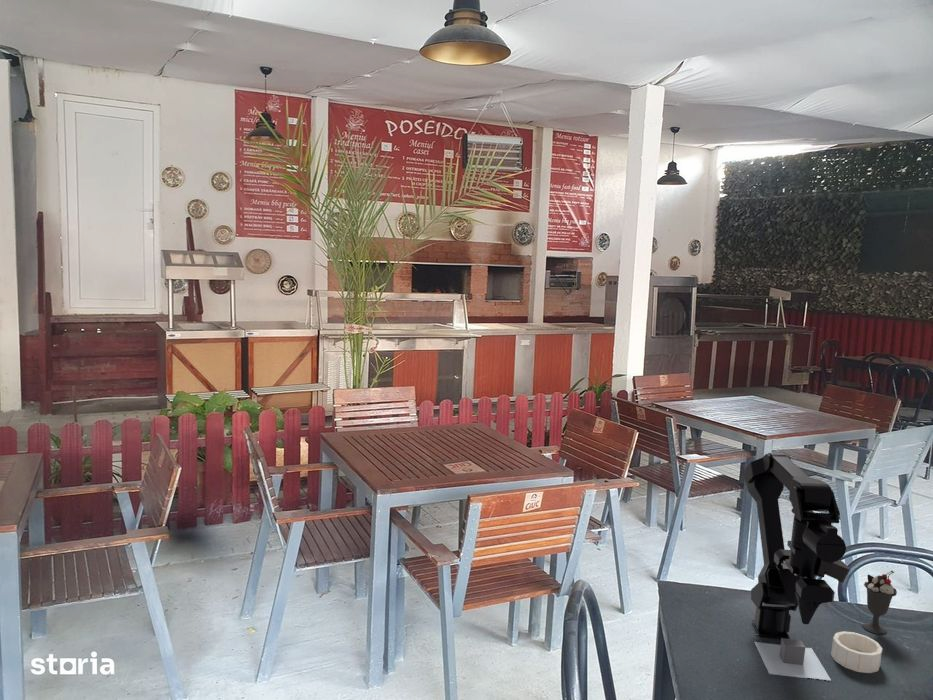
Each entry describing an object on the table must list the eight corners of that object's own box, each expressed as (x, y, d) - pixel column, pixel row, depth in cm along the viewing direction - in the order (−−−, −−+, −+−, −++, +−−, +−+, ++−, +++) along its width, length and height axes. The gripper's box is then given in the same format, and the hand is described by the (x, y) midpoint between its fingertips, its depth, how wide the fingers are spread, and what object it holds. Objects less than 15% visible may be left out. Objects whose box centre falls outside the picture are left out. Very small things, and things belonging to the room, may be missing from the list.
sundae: (895, 638, 166) (904, 576, 163) (863, 634, 167) (872, 572, 165) (885, 624, 172) (894, 563, 170) (854, 619, 173) (862, 560, 171)
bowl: (841, 670, 152) (843, 652, 151) (825, 646, 161) (827, 629, 160) (886, 675, 151) (889, 657, 150) (868, 651, 160) (871, 634, 159)
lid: (768, 676, 149) (771, 654, 149) (754, 645, 161) (756, 625, 161) (830, 683, 148) (833, 661, 147) (811, 651, 160) (813, 631, 159)
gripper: (866, 564, 141) (856, 640, 143) (830, 528, 159) (821, 595, 161) (806, 559, 142) (797, 634, 144) (777, 523, 160) (769, 590, 162)
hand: (797, 612), depth 153 cm, fingers open, 9 cm apart
